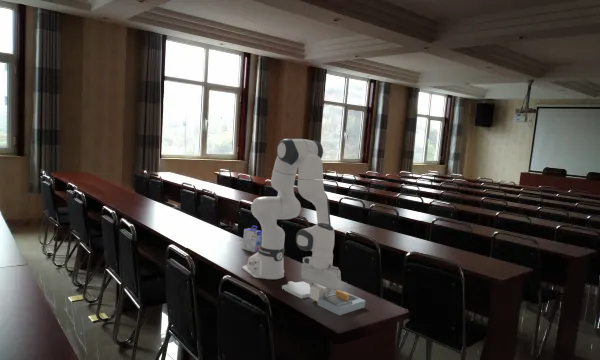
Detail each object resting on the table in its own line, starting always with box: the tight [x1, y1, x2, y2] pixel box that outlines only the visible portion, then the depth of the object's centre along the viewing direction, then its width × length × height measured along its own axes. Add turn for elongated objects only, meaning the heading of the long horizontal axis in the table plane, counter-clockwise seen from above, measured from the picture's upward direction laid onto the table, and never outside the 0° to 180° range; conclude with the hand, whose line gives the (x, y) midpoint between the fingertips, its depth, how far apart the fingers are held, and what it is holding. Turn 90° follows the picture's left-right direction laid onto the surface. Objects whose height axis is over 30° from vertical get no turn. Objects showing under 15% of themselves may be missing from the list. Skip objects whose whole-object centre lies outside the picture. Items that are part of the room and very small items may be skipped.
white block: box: [309, 284, 327, 305], centre depth 185 cm, size 5×5×6 cm
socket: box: [317, 290, 366, 316], centre depth 183 cm, size 12×16×4 cm
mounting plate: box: [281, 280, 310, 299], centre depth 196 cm, size 18×13×2 cm
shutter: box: [324, 289, 350, 305], centre depth 180 cm, size 7×8×3 cm
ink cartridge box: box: [241, 225, 262, 253], centre depth 254 cm, size 10×6×14 cm, turn 58°
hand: (319, 294), depth 184 cm, fingers open, 6 cm apart
